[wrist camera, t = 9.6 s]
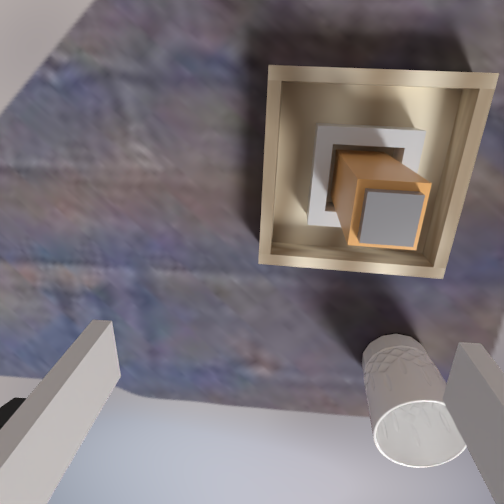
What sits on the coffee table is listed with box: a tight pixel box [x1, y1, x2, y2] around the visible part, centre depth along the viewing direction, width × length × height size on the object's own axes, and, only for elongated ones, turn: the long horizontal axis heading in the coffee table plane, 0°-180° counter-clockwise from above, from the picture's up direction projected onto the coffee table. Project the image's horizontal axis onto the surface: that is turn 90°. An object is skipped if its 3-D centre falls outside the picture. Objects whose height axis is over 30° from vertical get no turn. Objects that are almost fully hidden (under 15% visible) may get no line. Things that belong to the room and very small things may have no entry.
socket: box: [307, 123, 426, 227], centre depth 31 cm, size 8×8×3 cm
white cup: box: [362, 334, 467, 468], centre depth 36 cm, size 8×8×10 cm
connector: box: [330, 149, 432, 250], centre depth 26 cm, size 4×4×13 cm
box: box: [258, 65, 499, 279], centre depth 31 cm, size 16×16×4 cm
